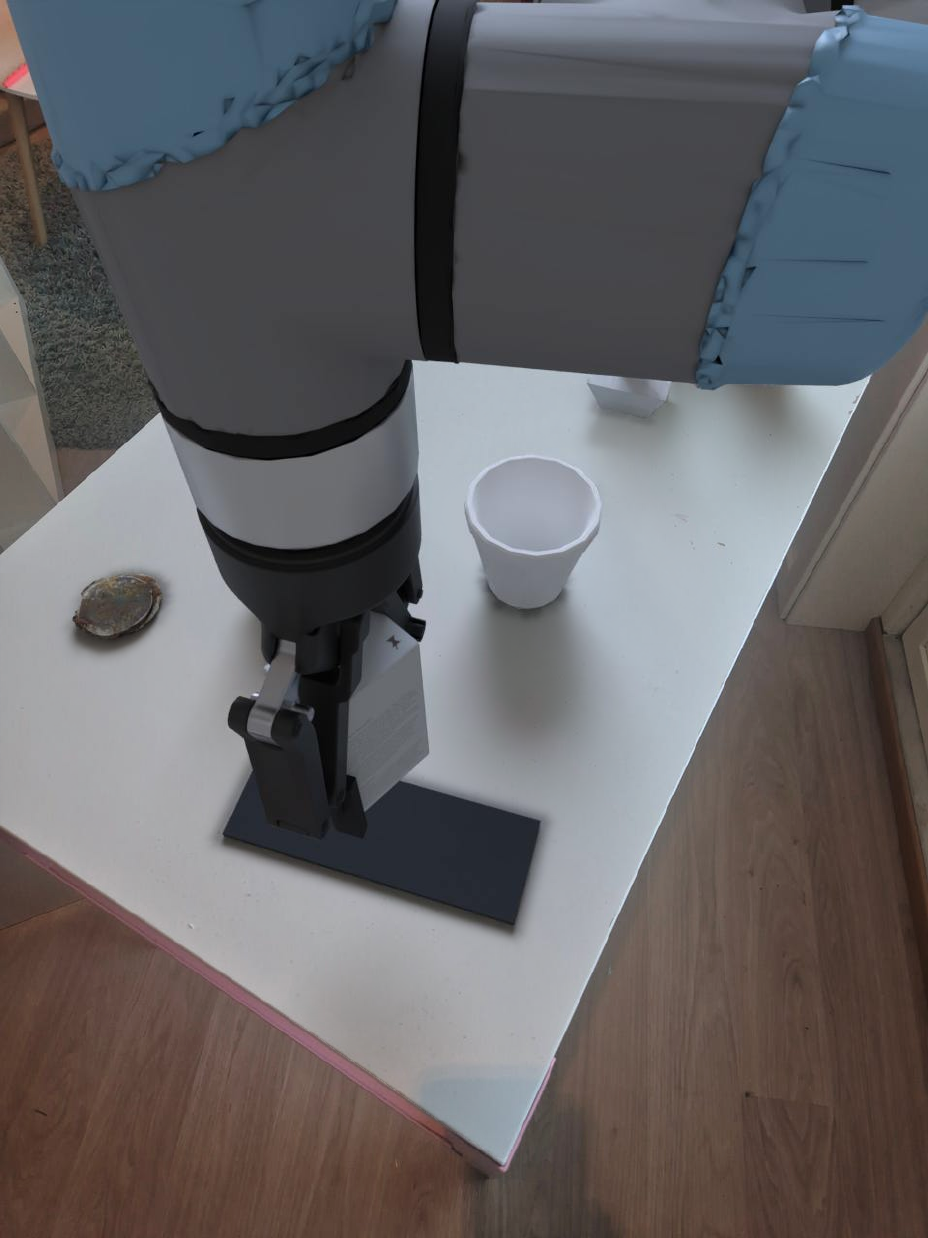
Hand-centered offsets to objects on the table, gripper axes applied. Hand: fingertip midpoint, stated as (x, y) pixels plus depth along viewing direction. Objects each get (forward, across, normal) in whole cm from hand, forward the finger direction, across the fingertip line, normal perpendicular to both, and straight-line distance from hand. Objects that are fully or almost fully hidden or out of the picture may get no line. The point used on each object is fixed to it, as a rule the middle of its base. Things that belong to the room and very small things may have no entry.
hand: (367, 761), depth 47 cm
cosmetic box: (+1, 0, 0) cm, 1 cm away
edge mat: (+11, 0, 0) cm, 11 cm away
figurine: (+11, -47, +8) cm, 49 cm away
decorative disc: (+11, -11, -26) cm, 30 cm away
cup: (+11, -23, +4) cm, 26 cm away
